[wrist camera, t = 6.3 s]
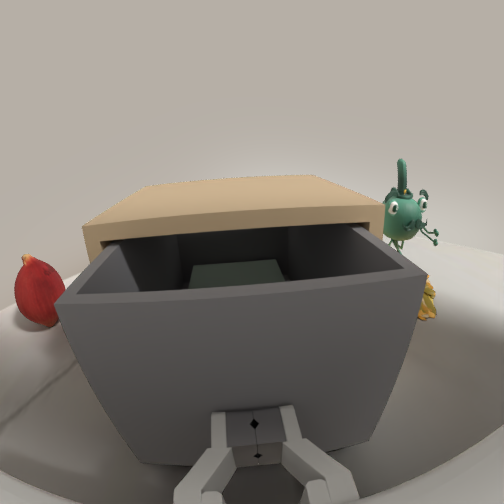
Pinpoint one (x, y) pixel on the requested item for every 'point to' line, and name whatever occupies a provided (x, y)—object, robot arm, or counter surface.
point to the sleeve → (231, 208)
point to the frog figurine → (408, 227)
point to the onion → (38, 291)
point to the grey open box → (242, 332)
